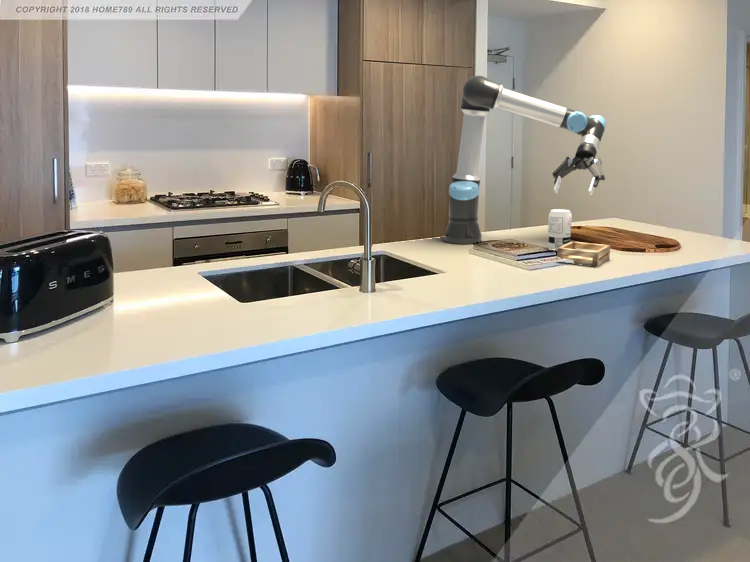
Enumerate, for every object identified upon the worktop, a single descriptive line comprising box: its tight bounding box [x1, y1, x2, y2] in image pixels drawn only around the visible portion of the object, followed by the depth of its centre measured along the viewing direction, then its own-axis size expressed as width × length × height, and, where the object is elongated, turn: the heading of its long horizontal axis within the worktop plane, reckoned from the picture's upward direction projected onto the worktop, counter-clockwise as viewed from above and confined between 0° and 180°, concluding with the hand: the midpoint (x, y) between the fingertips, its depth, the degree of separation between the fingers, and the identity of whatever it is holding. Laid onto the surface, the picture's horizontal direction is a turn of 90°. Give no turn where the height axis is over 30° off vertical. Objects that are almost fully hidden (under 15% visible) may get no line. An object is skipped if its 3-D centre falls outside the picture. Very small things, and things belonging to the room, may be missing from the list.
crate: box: [556, 240, 611, 267], centre depth 244 cm, size 14×14×5 cm
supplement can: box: [546, 208, 573, 250], centre depth 261 cm, size 8×8×15 cm
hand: (572, 192), depth 266 cm, fingers open, 13 cm apart
